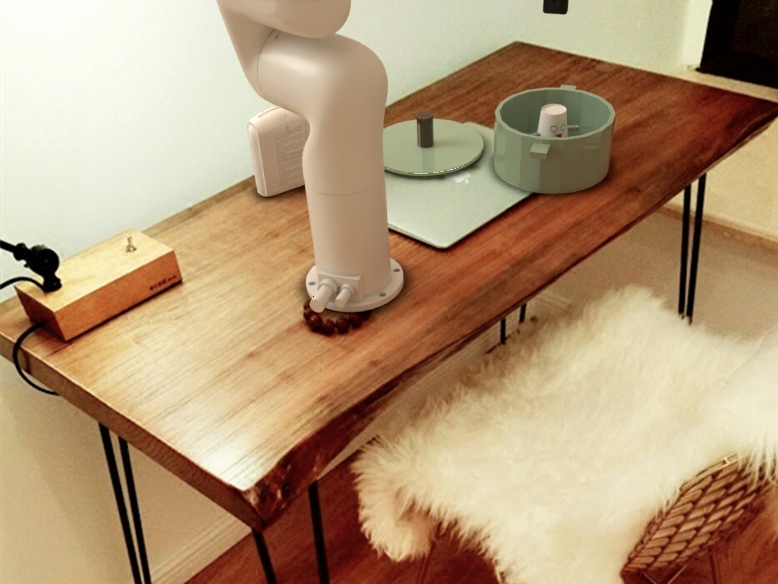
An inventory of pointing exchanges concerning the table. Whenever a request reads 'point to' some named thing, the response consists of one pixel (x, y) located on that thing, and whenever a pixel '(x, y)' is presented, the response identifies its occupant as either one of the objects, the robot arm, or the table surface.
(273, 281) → the table surface
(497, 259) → the table surface
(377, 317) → the table surface
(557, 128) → the toy figure
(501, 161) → the pot
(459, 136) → the lid
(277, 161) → the photo printer
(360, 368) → the table surface
